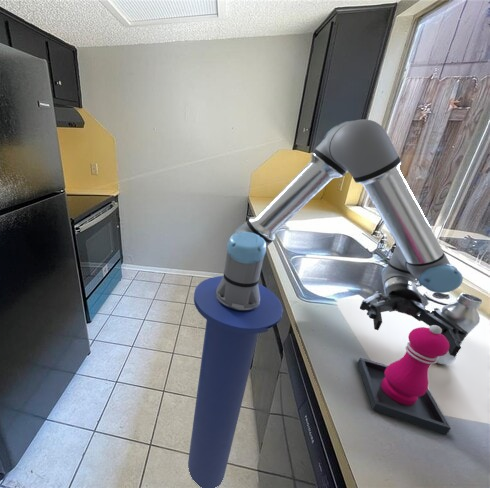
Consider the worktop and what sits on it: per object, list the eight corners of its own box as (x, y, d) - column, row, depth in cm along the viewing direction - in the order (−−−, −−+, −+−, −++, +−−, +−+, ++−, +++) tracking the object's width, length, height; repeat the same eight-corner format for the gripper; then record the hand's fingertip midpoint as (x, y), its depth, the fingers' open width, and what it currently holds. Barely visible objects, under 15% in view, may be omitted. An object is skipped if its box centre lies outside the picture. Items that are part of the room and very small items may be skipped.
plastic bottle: (438, 369, 67) (480, 307, 59) (411, 349, 73) (445, 290, 65) (457, 366, 69) (500, 304, 61) (428, 347, 75) (464, 289, 67)
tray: (357, 363, 68) (359, 357, 67) (416, 380, 64) (420, 374, 63) (372, 409, 57) (376, 403, 56) (446, 434, 52) (451, 428, 52)
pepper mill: (395, 377, 64) (432, 313, 56) (426, 405, 57) (473, 337, 49) (370, 381, 63) (404, 315, 55) (399, 410, 56) (443, 341, 48)
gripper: (454, 321, 71) (484, 376, 55) (347, 290, 83) (345, 327, 67) (468, 299, 68) (504, 350, 52) (355, 270, 80) (355, 304, 64)
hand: (414, 337), depth 59 cm, fingers open, 13 cm apart
